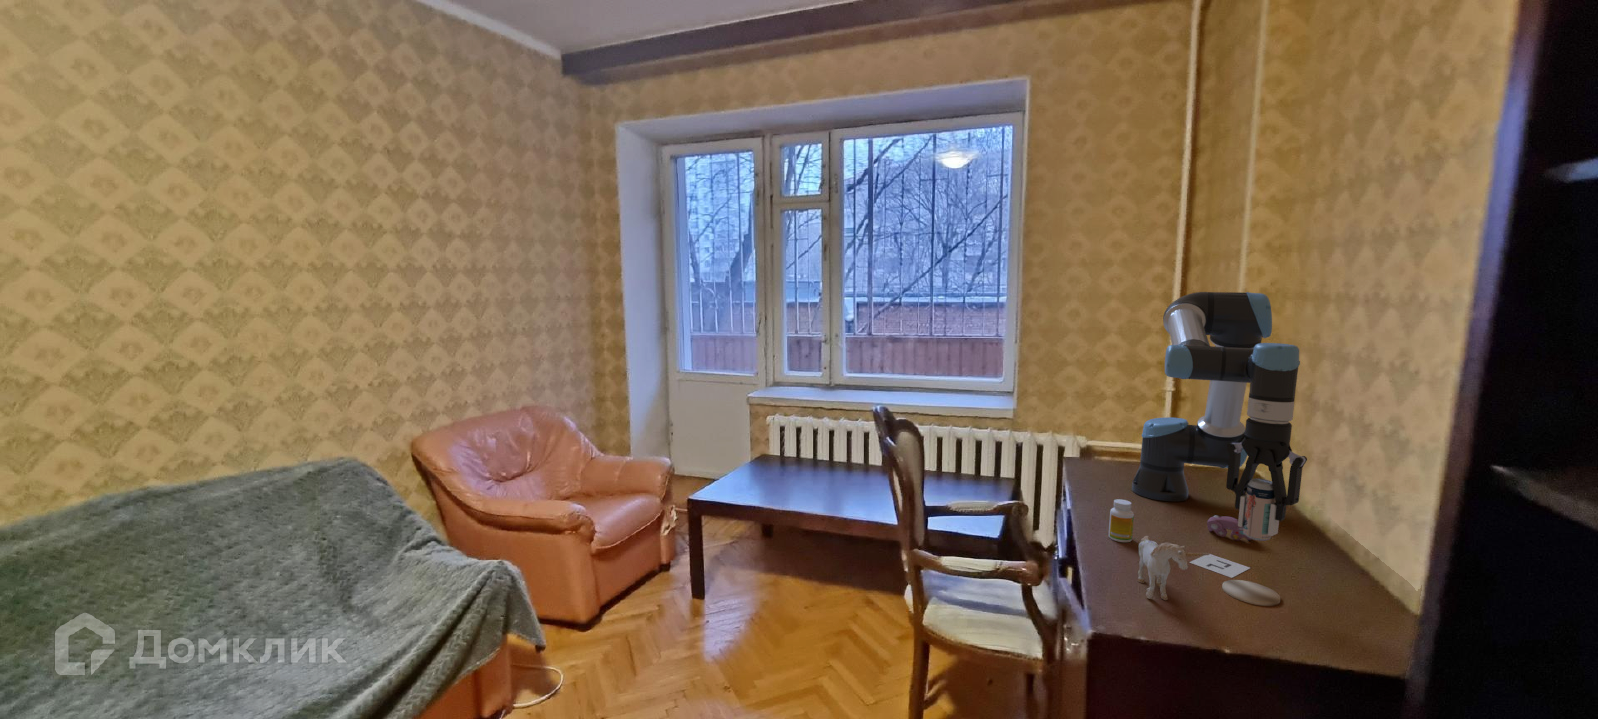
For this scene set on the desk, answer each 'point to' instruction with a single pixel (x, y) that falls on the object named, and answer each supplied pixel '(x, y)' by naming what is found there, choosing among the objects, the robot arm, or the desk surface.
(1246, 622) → the desk surface
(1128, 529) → the supplement bottle
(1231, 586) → the cork coaster
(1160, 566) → the unicorn figurine
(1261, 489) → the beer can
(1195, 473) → the desk surface
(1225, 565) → the tile
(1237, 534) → the video game controller
